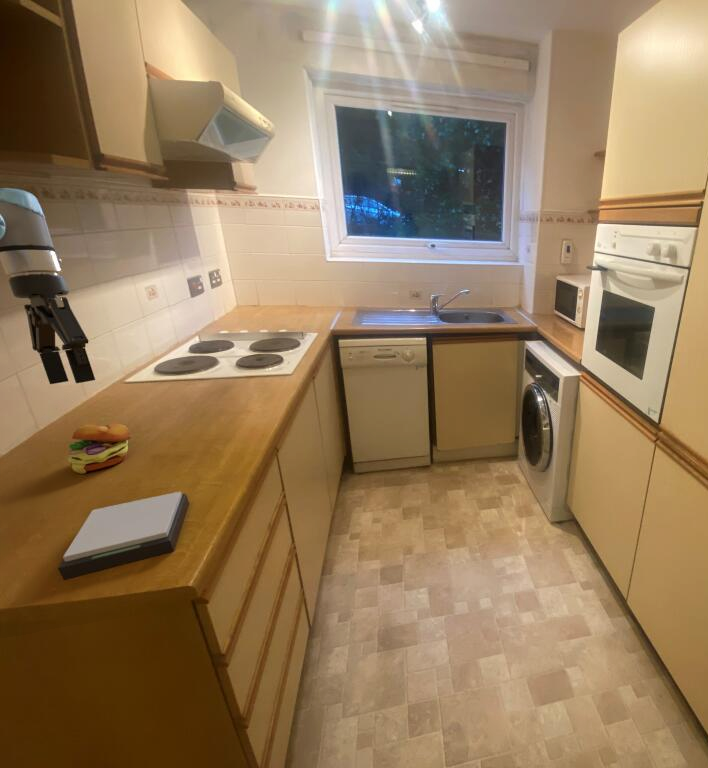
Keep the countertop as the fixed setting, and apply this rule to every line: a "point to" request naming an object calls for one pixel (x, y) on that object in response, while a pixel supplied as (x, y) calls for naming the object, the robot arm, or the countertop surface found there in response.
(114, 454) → the cheeseburger
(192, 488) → the countertop surface
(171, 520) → the kitchen scale
